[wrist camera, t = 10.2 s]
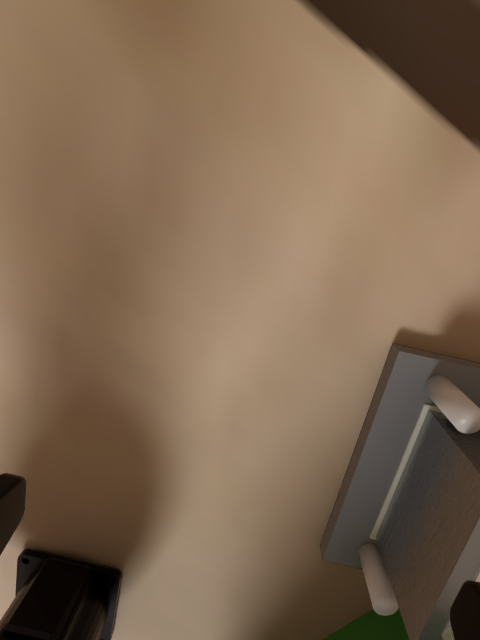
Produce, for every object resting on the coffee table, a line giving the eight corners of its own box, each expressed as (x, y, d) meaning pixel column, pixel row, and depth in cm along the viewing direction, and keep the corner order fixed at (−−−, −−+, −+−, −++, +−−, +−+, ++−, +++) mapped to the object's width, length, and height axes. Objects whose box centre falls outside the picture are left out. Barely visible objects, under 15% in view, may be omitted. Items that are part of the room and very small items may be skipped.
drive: (456, 555, 21) (523, 678, 15) (375, 537, 21) (413, 652, 15) (522, 426, 18) (628, 517, 13) (430, 405, 18) (498, 487, 13)
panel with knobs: (469, 579, 22) (511, 656, 19) (320, 545, 22) (330, 614, 19) (572, 384, 19) (651, 430, 15) (392, 343, 19) (424, 378, 15)
